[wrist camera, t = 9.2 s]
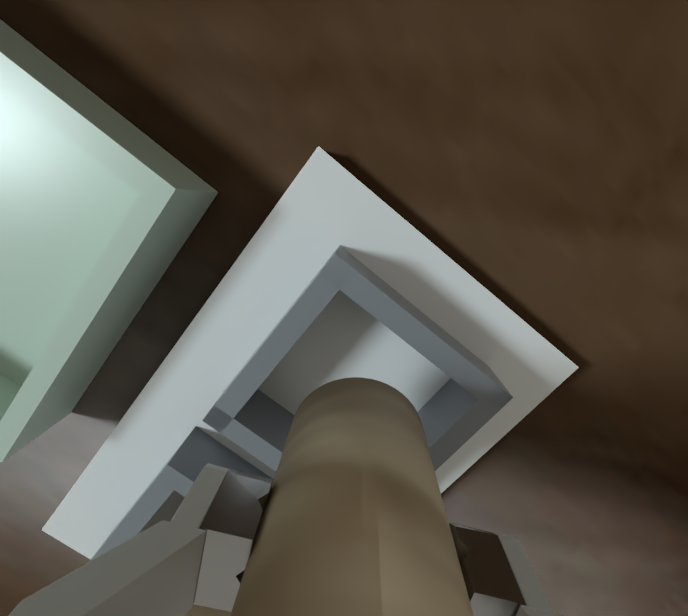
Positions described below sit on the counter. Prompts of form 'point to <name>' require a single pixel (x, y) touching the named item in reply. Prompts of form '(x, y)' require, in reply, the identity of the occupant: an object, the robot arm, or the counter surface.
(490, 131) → the counter surface
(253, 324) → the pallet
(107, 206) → the tote
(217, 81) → the counter surface
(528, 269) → the counter surface
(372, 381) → the cylinder
